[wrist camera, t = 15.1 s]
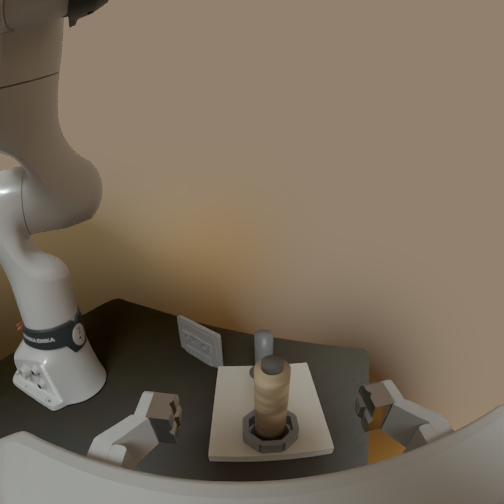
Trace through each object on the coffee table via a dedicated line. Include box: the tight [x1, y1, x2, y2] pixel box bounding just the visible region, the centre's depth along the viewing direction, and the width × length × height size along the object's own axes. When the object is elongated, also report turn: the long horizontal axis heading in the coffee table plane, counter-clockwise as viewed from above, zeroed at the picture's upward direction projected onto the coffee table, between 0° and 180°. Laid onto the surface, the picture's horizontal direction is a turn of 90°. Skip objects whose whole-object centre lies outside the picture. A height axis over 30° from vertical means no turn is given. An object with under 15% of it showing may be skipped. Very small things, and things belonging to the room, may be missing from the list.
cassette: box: [177, 315, 223, 368], centre depth 50 cm, size 12×2×8 cm, turn 51°
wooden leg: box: [254, 355, 291, 441], centre depth 29 cm, size 4×4×13 cm
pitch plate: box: [208, 330, 334, 462], centre depth 36 cm, size 16×20×10 cm
